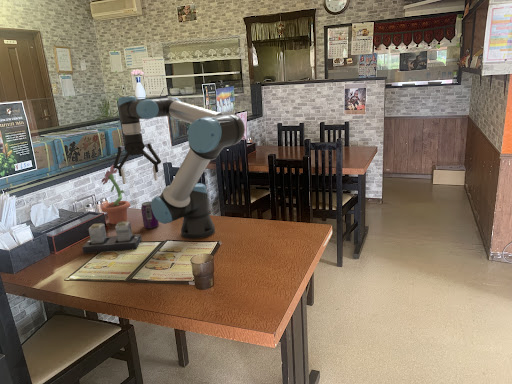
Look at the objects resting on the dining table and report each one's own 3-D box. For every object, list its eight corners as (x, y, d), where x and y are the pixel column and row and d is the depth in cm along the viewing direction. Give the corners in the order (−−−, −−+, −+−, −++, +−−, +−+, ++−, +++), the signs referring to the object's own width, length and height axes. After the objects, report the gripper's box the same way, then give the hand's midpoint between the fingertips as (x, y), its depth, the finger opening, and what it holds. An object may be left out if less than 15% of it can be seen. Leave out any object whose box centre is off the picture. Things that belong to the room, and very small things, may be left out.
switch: (141, 240, 174) (138, 217, 172) (136, 249, 165) (132, 225, 162) (91, 244, 174) (87, 221, 171) (83, 253, 164) (78, 230, 161)
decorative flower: (113, 217, 210) (103, 162, 202) (137, 216, 208) (128, 161, 200) (99, 227, 195) (88, 168, 187) (125, 226, 194) (115, 167, 186)
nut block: (133, 242, 172) (130, 220, 169) (131, 247, 167) (127, 224, 164) (122, 243, 172) (118, 221, 169) (118, 248, 167) (114, 225, 164)
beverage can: (162, 225, 192) (158, 201, 189) (151, 230, 186) (147, 206, 183) (151, 223, 196) (148, 200, 192) (141, 228, 190) (137, 204, 187)
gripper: (162, 129, 172) (169, 176, 178) (104, 135, 170) (113, 182, 175) (161, 131, 165) (168, 180, 170) (100, 137, 163) (109, 186, 168)
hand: (140, 181), depth 173 cm, fingers open, 13 cm apart
